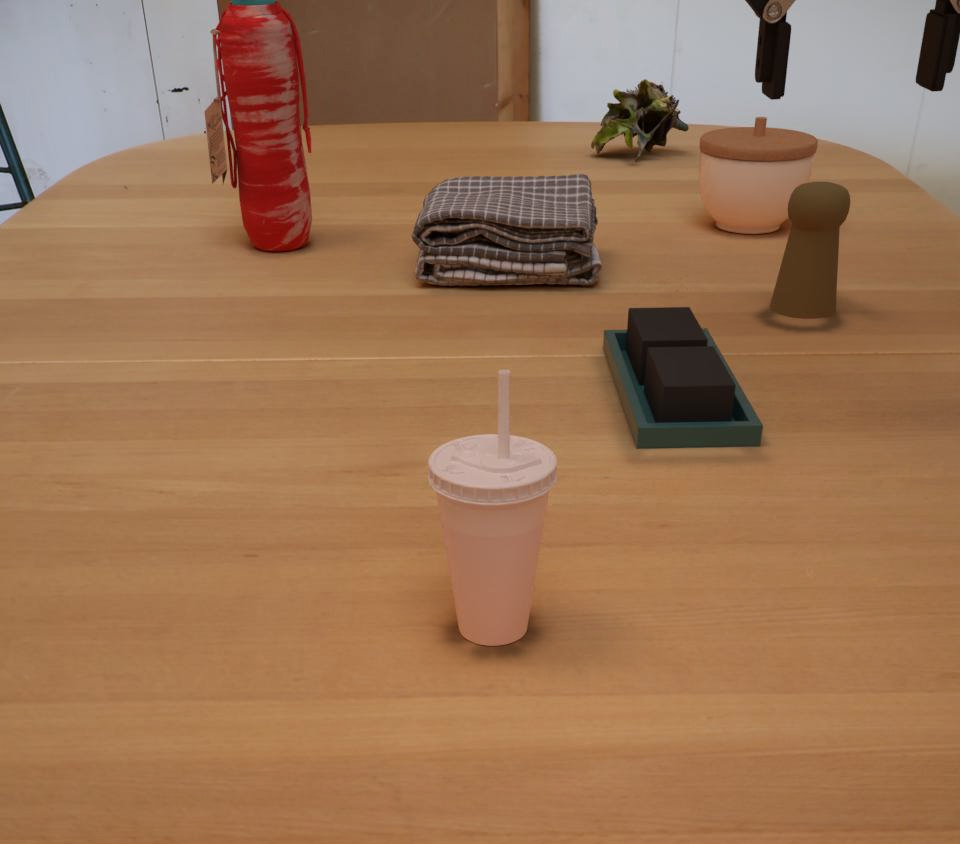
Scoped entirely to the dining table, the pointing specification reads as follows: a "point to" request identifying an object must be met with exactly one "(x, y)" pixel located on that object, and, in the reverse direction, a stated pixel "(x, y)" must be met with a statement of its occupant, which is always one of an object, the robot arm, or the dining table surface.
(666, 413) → the black rectangular block
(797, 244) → the pepper mill
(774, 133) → the lidded bowl
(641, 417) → the tray
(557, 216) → the towel
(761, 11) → the robot arm
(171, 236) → the dining table surface
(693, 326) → the dark brown rectangular block
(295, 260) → the dining table surface
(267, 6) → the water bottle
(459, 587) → the smoothie
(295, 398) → the dining table surface
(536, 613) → the dining table surface
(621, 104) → the green leafy plant
